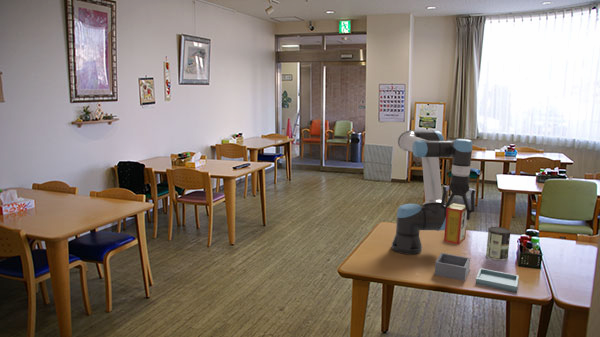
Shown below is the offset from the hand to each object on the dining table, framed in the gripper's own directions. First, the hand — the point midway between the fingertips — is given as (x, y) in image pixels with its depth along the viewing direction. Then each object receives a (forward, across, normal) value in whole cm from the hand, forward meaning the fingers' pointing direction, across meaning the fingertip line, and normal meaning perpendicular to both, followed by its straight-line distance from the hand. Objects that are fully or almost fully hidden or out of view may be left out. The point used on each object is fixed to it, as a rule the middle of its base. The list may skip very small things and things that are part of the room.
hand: (455, 225), depth 203 cm
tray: (+22, +19, -1) cm, 29 cm away
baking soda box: (+7, 0, 0) cm, 7 cm away
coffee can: (+23, +16, +32) cm, 42 cm away
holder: (+22, 0, 0) cm, 22 cm away
